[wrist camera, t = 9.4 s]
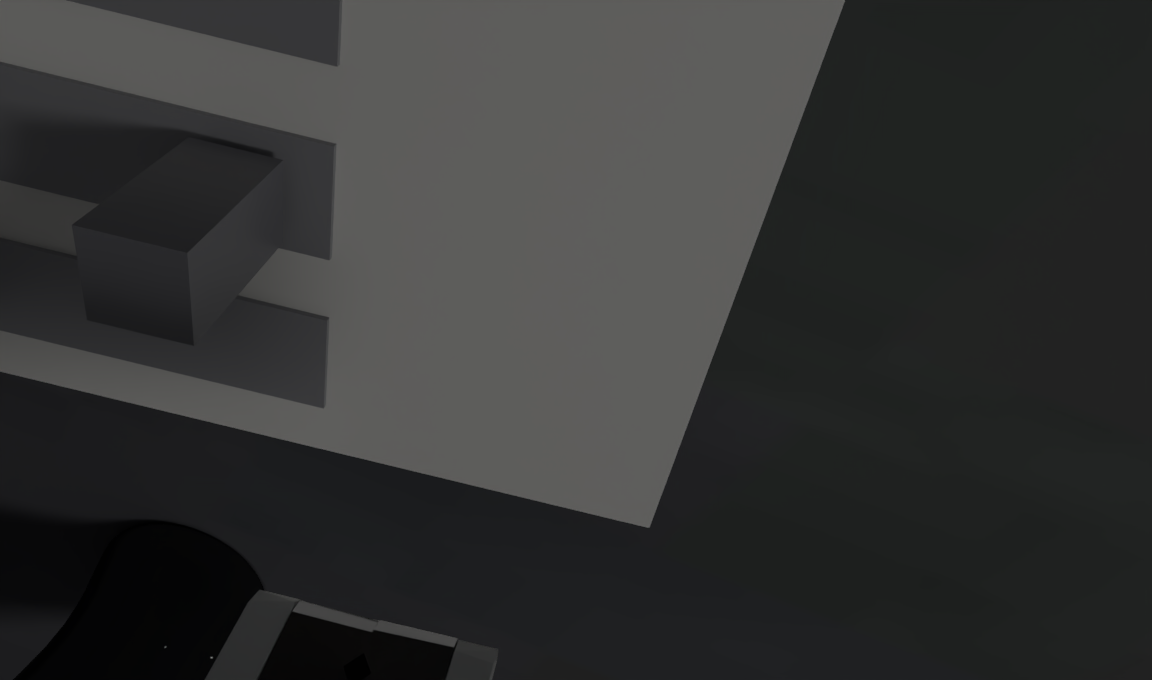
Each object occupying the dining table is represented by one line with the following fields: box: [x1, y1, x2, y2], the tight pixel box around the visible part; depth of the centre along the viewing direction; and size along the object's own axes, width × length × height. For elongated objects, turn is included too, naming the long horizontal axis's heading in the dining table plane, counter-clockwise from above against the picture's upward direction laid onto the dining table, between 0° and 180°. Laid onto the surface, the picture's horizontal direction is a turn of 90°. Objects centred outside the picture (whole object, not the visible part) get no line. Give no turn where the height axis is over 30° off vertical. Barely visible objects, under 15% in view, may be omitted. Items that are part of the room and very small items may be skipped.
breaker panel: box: [0, 0, 845, 528], centre depth 18 cm, size 30×15×8 cm, turn 79°
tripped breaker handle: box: [72, 137, 283, 346], centre depth 17 cm, size 2×2×4 cm
